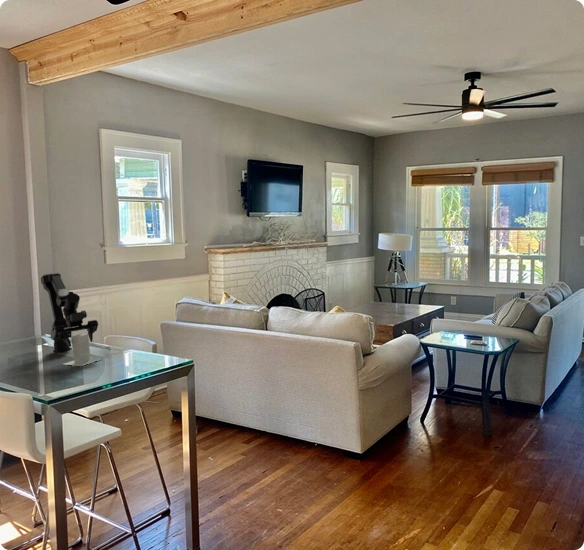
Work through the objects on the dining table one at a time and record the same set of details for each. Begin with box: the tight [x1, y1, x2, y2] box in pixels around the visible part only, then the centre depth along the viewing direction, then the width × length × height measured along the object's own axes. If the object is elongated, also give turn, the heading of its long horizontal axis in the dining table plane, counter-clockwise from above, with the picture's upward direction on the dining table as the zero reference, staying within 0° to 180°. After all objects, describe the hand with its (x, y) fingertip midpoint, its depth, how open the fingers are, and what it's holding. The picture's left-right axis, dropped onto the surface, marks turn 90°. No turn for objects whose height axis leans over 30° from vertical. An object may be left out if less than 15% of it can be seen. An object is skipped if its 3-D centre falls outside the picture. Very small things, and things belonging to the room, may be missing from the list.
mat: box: [62, 360, 88, 367], centre depth 246 cm, size 12×12×1 cm
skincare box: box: [70, 333, 92, 363], centre depth 245 cm, size 6×4×12 cm
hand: (81, 343), depth 244 cm, fingers open, 9 cm apart
